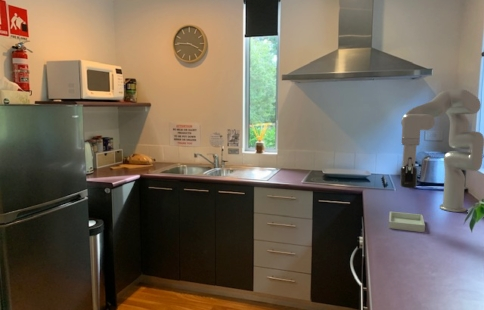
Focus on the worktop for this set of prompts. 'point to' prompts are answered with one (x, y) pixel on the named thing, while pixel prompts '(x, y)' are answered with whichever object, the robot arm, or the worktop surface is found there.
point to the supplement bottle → (408, 184)
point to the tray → (406, 221)
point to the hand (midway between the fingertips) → (408, 179)
